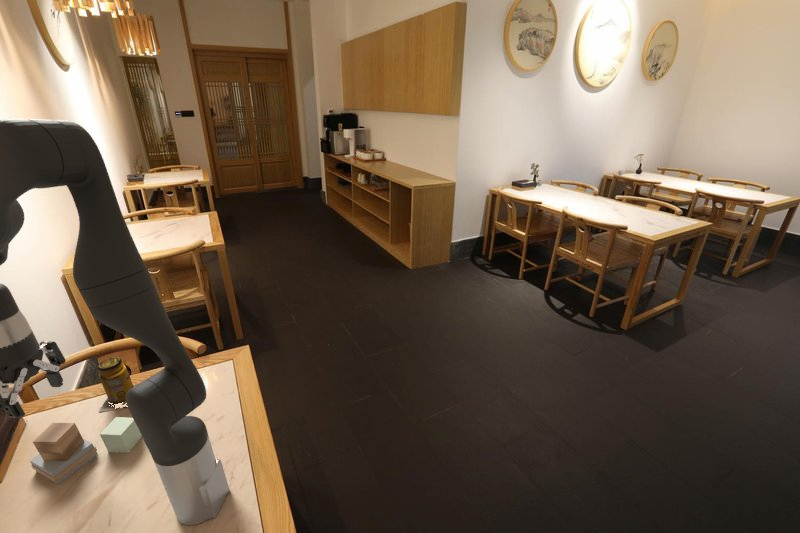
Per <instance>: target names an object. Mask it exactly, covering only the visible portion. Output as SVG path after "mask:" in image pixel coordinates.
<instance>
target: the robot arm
mask: <svg viewBox="0 0 800 533" xmlns="http://www.w3.org/2000/svg"><path fill="white" fill-rule="evenodd" d="M65 186H66V188H67V189H68V191H69V192H70V195H71V197H72V199H73V202H74V205H75V208H76V210H77V215H78V221H79V228H78V229H79V230H78V236H77V242H76V246H75V252H74V256H73V265H72V277H73V280H74V283H75V286H76V288H77V289H78V291H79V293H80V296H81V297H82V299H83V301H84V303H85V305H86V306H87V308H88V311H90V314H91V315H92V316H93V318H94V319H96V320H97V321H99V323H101V324H103V325H104V326H106V327H108V328H109V329H112V330H114V331H116V332H118V333H120V334H122V335H125V336H126V337H129V338H131V339H133V340H136V341H137V342H138V343H139V342H140V343H141V344H143V345H145V346H146V347H147V348H149V349H151V350H152V351H153V352H154V353H155V354H156V355H157V357H158V358H159V360H160V361H161V362H162V364H163V368H162V369H161V370H159V371H158V372H156V373H155V374H153V375H151V376H149V377H148V378H146V379H144V380H142V381H141V382H140V383H137V384H136V385H133V386H134V387H133V388H131V389H130V390H129V391H128V392H127V395H126V403H127V406H128V407H127V408H128V409H127V410H128V411H129V413H130V415H131V418H133V419H134V421H135V423H136V425H137V427H138V429H139V431H140V433H141V435H142V437H141V438H142V439H143V442H144V444H145V445H146V447H147V449H148V452H149V454H150V456H151V458H152V460H153V463H154V465H155V468H156V471H157V472H158V475H159V478H160V480H161V482H162V485H163V487H164V490H165V492H166V495H167V497H168V499H169V502H170V505H171V507H172V509H173V512H174V515H175V517H176V518H177V521H178V522H179V523H181V524H182V525H185V526H195V525H198V524H202V523H204V522H206V521H207V520H210V519H216V518H217V516H218V513H219V512H220V509H221V508H222V505H223V503H224V502H225V500H226V497H227V495H228V493H229V491H230V486H229V484H228V480H227V476H226V473H225V470H224V466H223V463H222V460H221V459H217V458H216V455H215V453H214V449H213V446H212V443H211V440H210V436H209V433H208V429H207V426H206V423H205V422H204V421H203V420H202V419H201V418H199V417H198V416H194V415H189V414H191V413H192V412H194V411H195V410H196V409H198V407H200V406H201V405H202V404H203V403H204V402H205V401H206V399H207V389H206V385H205V383H204V380H203V378H202V375H201V374H200V372H199V370H198V369H197V367H196V365H195V363H194V362H193V360H192V358H191V357H190V354H189V353H188V351H187V349H186V347H185V346H184V344H183V343H182V341H181V339H180V338H179V336H178V333H177V332H176V330H175V328H174V326H173V324H172V321H171V320H170V318H169V315H168V313H167V311H166V309H165V306H164V304H163V302H162V299H161V297H160V294H159V292H158V290H157V288H156V285H155V283H154V281H153V277H152V276H151V274H150V272H149V269H148V268H147V266H146V264H145V262H144V260H143V258H142V256H141V255H140V254H141V253H140V252H139V250H138V248H137V246H136V244H135V242H134V238H133V236H132V235H131V232H130V229H129V227H128V224H127V223H126V221H125V218H124V216H123V212H122V210H121V207H120V205H119V204H120V203H119V201H118V199H117V195H116V193H115V190H114V187H113V183H112V181H111V178H110V175H109V171H108V169H107V166H106V163H105V160H104V157H103V155H102V153H101V151H100V149H99V146H98V145H97V143H96V142H95V140H94V138H93V137H92V135H91V134H90V133H89V131H87V129H85V127H83V126H82V125H80V124H79V123H76V122H74V121H71V120H66V119H65V120H63V119H48V118H47V119H41V118H38V119H37V118H8V119H7V118H6V119H2V120H0V266H2V265H3V264H4V263H5V262H6V261H7V260H8V255H9V254H8V253H9V244H10V243H11V242H12V241H13V239H14V238H16V236H17V235H18V234H19V232H20V231H21V230H22V228H23V226H24V224H25V223H24V222H25V212H24V209H23V207H22V206H21V204H20V203H19V201H18V199H19V198H20V197H21V196H22V195H24V194H25V193H27V192H29V191H31V190H32V189H49V188H56V187H65ZM44 355H45V356H46V358H47V361H49V362H47V361H43V357H44ZM65 363H66V358H65V356H64V354H63V353H62V351H61V349H60V347H59V346H58V344H57V343H56V342H55V341H49V340H45V341H44V340H43V341H40V343H39V341H38V339H37V338H36V335H35V333H34V331H33V330H32V328H31V326H30V323H29V322H28V320H27V318H26V316H25V315H24V314H23V312H22V311H21V309H20V307H19V306H18V304H17V302H16V300H15V298H14V296H13V294H12V292H11V290H10V289H9V287H7V286H6V285H5V284H3V283H0V410H1V411H2V410H4V412H5V414H6V416H7V417H9V418H11V419H12V418H13V419H14V418H15V419H17V418H18V419H19V418H20V419H22V418H23V417H24V416H26V413H25V411H24V409H23V408H22V405H21V404H20V402H19V401H18V400H17V399H18V396H19V393H20V392H22V390H23V385H24V384H25V383H26V382H27V383H28V381H30V379H31V378H33V377H34V376H37V375H38V374H39V372H40V371H41V372H45V373H44V375H45V378H46V380H47V381H48V384H49V386H51V387H52V388H60V387H63V385H64V383H63V382H64V379H63V377H62V374H61V373H60V366H61V365H65ZM9 384H10V385H12V387H10V386H9Z"/></svg>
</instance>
